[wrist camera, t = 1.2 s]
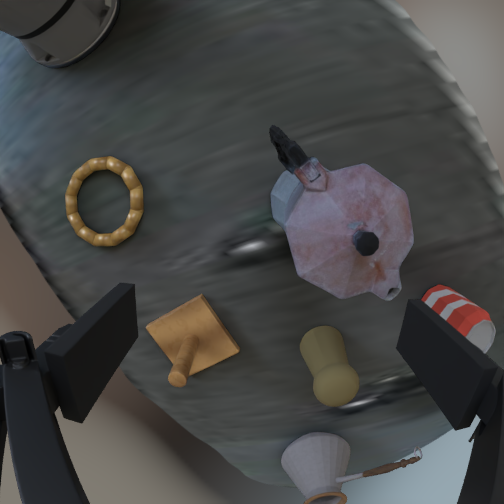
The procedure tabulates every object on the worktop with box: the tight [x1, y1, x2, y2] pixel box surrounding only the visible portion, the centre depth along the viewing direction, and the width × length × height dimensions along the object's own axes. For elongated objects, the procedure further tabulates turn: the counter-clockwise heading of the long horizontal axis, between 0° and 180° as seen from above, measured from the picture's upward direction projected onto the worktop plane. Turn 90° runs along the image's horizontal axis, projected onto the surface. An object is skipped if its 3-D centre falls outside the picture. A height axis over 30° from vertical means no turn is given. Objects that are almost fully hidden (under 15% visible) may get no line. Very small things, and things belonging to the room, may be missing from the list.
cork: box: [300, 326, 359, 407], centre depth 36 cm, size 6×6×11 cm
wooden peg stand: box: [146, 294, 240, 387], centre depth 36 cm, size 9×9×10 cm
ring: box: [65, 156, 144, 246], centre depth 37 cm, size 11×11×2 cm
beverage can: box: [421, 284, 496, 353], centre depth 34 cm, size 6×6×12 cm
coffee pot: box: [281, 432, 422, 504], centre depth 38 cm, size 21×12×15 cm, turn 136°
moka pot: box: [269, 125, 414, 301], centre depth 28 cm, size 10×15×20 cm, turn 43°
